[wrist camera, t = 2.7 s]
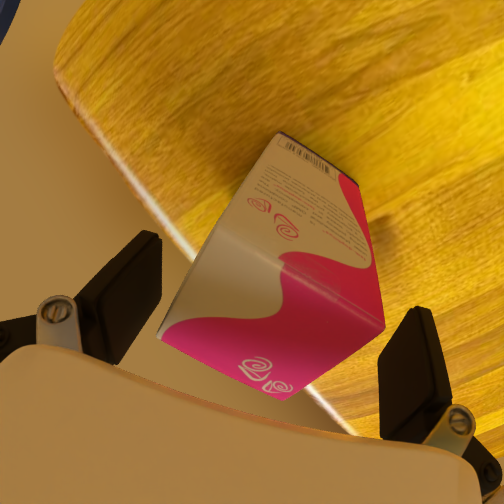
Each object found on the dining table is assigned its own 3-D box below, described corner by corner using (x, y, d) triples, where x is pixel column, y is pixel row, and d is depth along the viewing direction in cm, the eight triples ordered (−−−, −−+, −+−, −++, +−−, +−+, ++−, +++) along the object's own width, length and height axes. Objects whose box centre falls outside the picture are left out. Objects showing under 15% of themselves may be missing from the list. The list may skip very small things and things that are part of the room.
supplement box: (230, 206, 20) (146, 337, 11) (279, 128, 17) (217, 211, 7) (305, 253, 21) (282, 407, 11) (362, 185, 18) (397, 325, 8)
